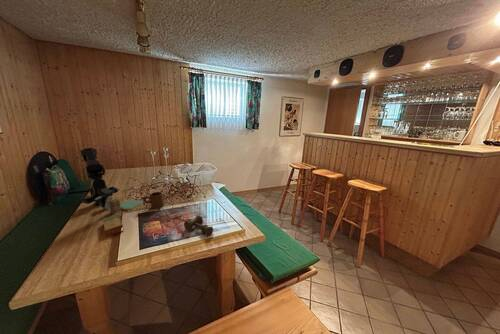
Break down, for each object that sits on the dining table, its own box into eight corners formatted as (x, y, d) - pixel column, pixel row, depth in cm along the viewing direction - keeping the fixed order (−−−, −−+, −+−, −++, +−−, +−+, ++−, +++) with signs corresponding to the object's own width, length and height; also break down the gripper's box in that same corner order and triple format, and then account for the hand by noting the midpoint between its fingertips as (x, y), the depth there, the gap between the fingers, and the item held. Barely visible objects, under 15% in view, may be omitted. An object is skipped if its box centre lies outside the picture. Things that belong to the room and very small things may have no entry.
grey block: (104, 208, 132) (101, 197, 130) (109, 205, 136) (107, 195, 134) (108, 209, 131) (106, 198, 129) (113, 206, 135) (111, 196, 133)
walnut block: (111, 212, 127) (108, 201, 125) (116, 209, 130) (114, 198, 128) (115, 213, 126) (113, 202, 124) (121, 210, 129) (118, 199, 127)
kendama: (203, 241, 99) (180, 227, 110) (217, 232, 107) (193, 220, 118) (203, 231, 97) (179, 217, 109) (216, 223, 105) (193, 211, 116)
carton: (105, 237, 102) (104, 230, 101) (103, 224, 114) (102, 218, 112) (124, 231, 107) (122, 224, 106) (120, 219, 119) (118, 213, 118)
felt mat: (115, 206, 135) (114, 206, 134) (129, 199, 146) (129, 199, 146) (130, 209, 131) (130, 208, 131) (144, 201, 142) (144, 201, 142)
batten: (113, 208, 132) (112, 206, 132) (114, 207, 133) (114, 206, 133) (126, 210, 129) (126, 209, 129) (128, 209, 130) (127, 208, 130)
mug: (145, 211, 127) (143, 198, 125) (143, 207, 134) (141, 194, 131) (164, 207, 134) (162, 194, 131) (162, 203, 140) (160, 191, 137)
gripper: (91, 191, 105) (97, 216, 109) (122, 180, 122) (126, 202, 126) (77, 189, 108) (83, 214, 112) (109, 178, 125) (113, 200, 129)
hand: (103, 207), depth 120 cm, fingers closed
